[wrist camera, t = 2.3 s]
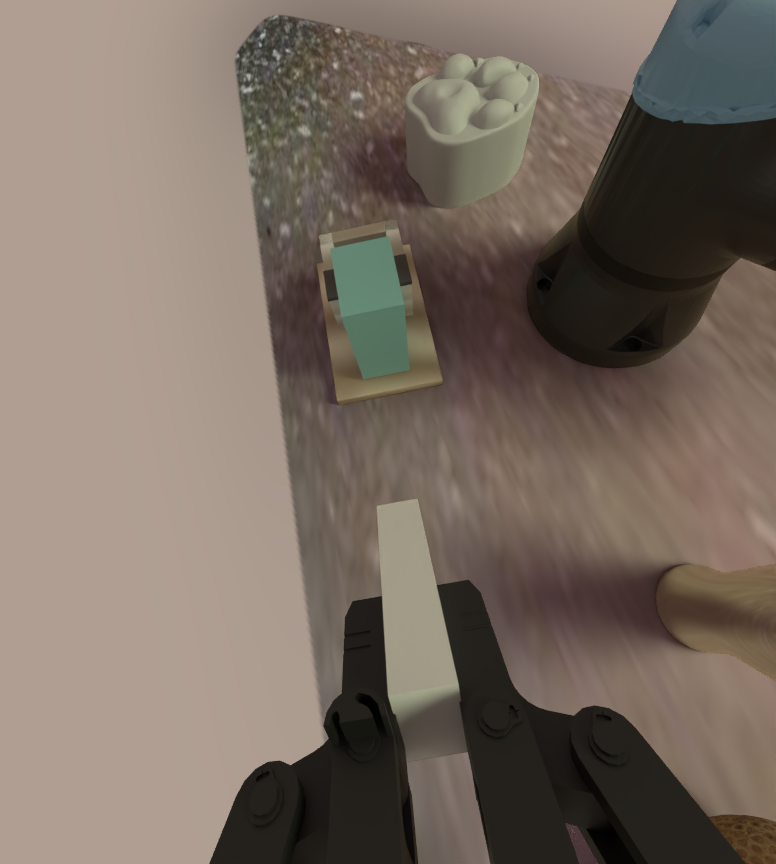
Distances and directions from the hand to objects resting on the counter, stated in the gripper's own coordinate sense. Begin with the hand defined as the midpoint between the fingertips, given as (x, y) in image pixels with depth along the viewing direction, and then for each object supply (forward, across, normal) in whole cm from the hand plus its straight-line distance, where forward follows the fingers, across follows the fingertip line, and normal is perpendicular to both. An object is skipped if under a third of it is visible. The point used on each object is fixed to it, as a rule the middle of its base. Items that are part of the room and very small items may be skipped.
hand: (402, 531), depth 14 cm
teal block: (+25, 0, +1) cm, 25 cm away
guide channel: (+29, +1, +2) cm, 29 cm away
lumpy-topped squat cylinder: (+42, +14, +16) cm, 47 cm away
